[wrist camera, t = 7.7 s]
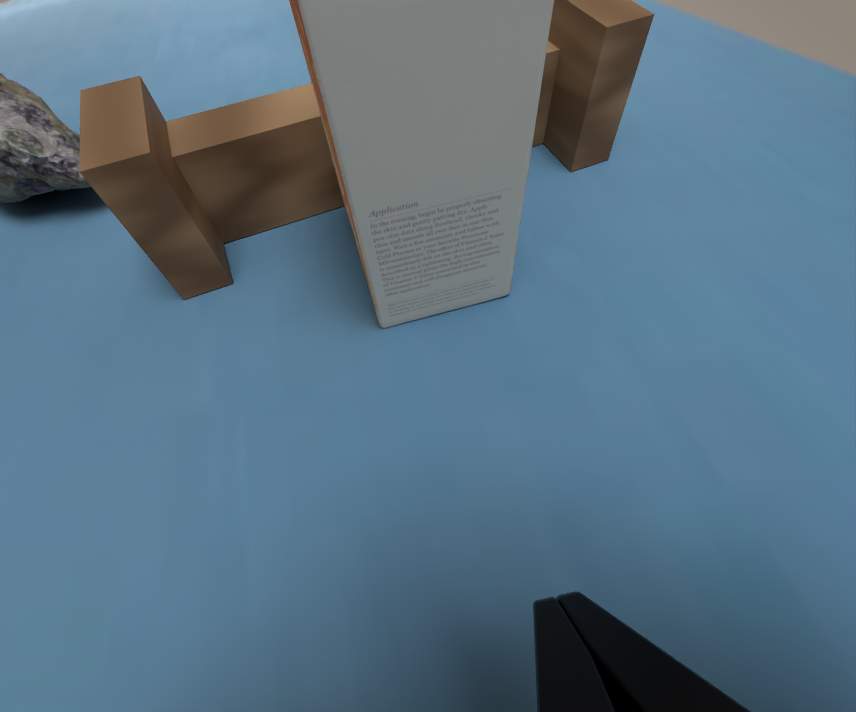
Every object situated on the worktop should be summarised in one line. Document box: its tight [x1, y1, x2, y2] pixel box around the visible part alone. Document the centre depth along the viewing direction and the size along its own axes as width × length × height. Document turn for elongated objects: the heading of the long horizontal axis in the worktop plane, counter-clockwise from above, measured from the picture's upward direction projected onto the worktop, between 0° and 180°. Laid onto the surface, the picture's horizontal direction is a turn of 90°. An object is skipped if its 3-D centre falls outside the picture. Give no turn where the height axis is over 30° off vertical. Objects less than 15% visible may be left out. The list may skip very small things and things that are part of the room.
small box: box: [289, 0, 554, 328], centre depth 17 cm, size 8×6×13 cm
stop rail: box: [79, 0, 654, 300], centre depth 22 cm, size 24×6×7 cm, turn 113°
